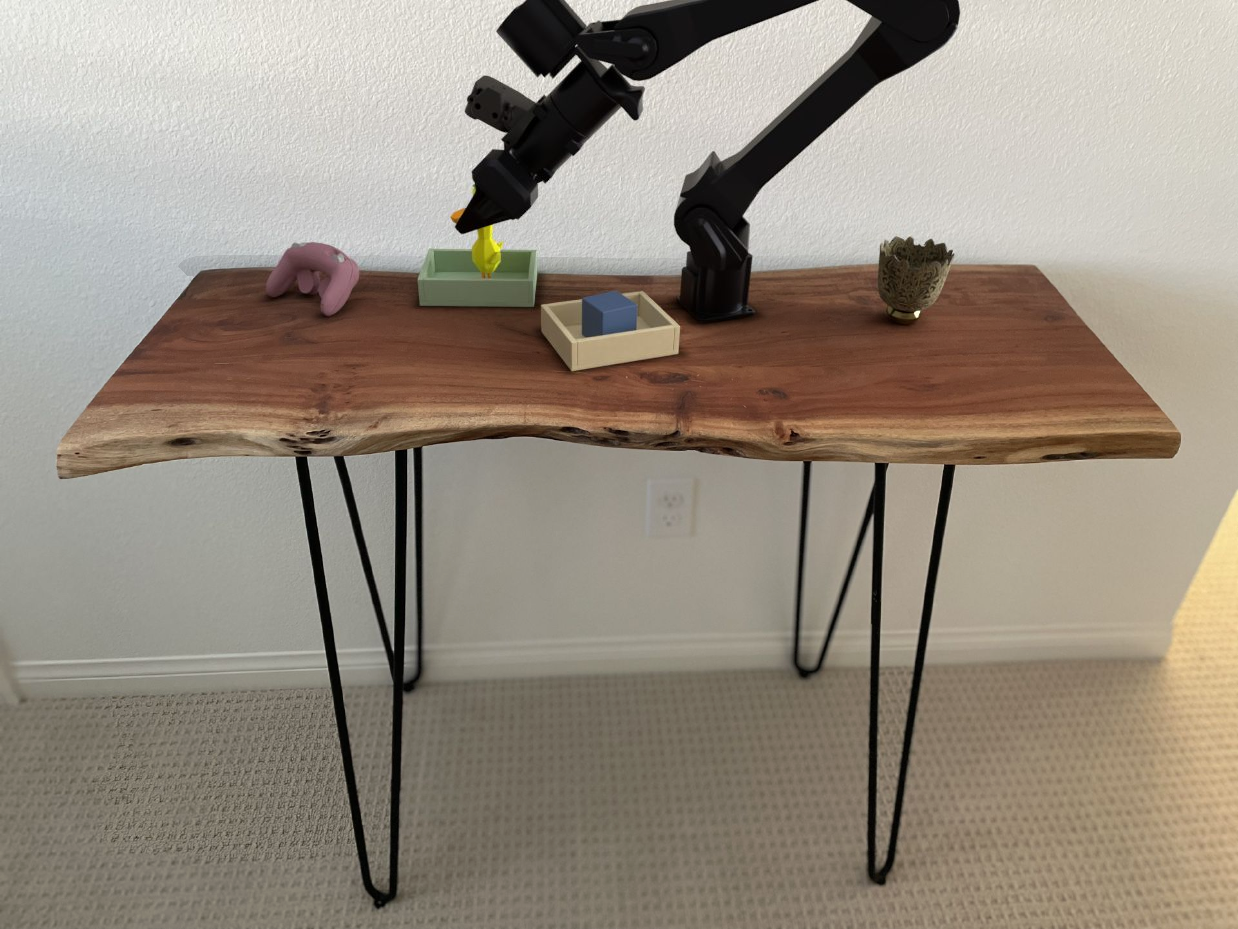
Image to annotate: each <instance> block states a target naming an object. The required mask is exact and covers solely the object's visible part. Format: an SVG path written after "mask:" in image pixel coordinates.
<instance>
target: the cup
mask: <svg viewBox="0 0 1238 929" xmlns="http://www.w3.org/2000/svg"><path fill="white" fill-rule="evenodd" d="M953 251H954V250H953V249H949V250H948V247H947V245H946V243H945V242H940V243H935V241H934V240H933V239H932V238H929V239H928V240H926V241H925V242H924V244H923V245H921V244H920V243H918V244H915V238H914V237H912V236H908V237H907V238H906V239H904V238H903V237H900V236H897V235H895V236H894V237H893V238H892V239H891V240H890V241H889V240H887V239H884V241H883V243H882V242H880V244H879V256H878V268H877V289H878V295H879V296H880V298H881V300H882V301H883V303H885V305H886V306H887V307H886V308H885V315H886V317H887V318H888V319H889V320H890V321H891V322H894V323H896V324H899V325H900V324H901V325H912V324H915V323H917V322H918V321H919V320H920V318H921V317H922V311H924V310H926V309H929V307H931V306H932V305H934V303H935V302H936V301H937V300H938V298H939V296H940V294H941V292H942V290H943V288H944V285H945V282H946V280H947V277H948V274H949V272H950V268H951V267H952V266H951V265H952V263H953V261H954V258H955V253H953Z"/></svg>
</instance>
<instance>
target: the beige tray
mask: <svg viewBox="0 0 1238 929" xmlns="http://www.w3.org/2000/svg"><path fill="white" fill-rule="evenodd" d="M621 294H622V295H624V296H625V297H627V298H628V299H630V300H631V301H633V302H634V303H636V304H637V327H636V330H635V331H628V332H621V333H615V334H608V335H602V336H595V337H588V338H586V337H584V336H583V335H582V298H581V299H574V300H567V301H566V300H565V301H559V302H552V303H544V304H541V305H540V323H541V324H540V326H541V328H540V329H541V331H540V332H541V333H542V335H543V336H544V337H545V338H546V339H547V341H548V342H549V344H550V345H551V347H553V349H554V350H555V351H556V353H557V354H558V355H559V357H560V358H561V359H562V360H563V362H564V363H565V365H566V366H567V368H568V369H569V370H570V371H571V372H576V371H581V370H588V369H594V368H601V367H606V366H607V367H608V366H613V365H617V364H624V363H630V362H631V363H632V362H636V361H643V360H649V359H655V358H656V359H657V358H661V357H669V356H673V355H678V354H679V348H680V347H679V346H680V334H681V333H680V332H681V326H680V325H679V324H678V323H677V322H676V321H675V320H674V319H673V318H672V317H671V316H670V315H669V314H668V313H667V312H666V311H665V310H663V309H662V308H661V306H660V305H658V303H656V302H655V301H654V300H653V299H652V298H651V297H650V296H649V295H648V294H647V293H646V292H645V291H643V290H640V291H632V292H625V293H621Z"/></svg>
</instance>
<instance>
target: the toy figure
mask: <svg viewBox="0 0 1238 929" xmlns="http://www.w3.org/2000/svg"><path fill="white" fill-rule="evenodd" d="M475 190H476V189H475V183H473V184H472V196H473V195H474V193H475ZM465 208H466V207H463V208H461V209H458V210H455V211H454V212H453V213H452V214H451V215H450V220H451V221H452V223H454V224H456V223H457V222H458V220H459V218H460V217H461V215H462V213H463V212H464V210H465ZM493 230H494V224H493V225H490V226H487V227H484V228H481V229H478V230H476V232H477V239H476V240H475V241H474V243H473V245H472V246H471V249H472V255H471V256H472V259H473V262H474V263H475V265H476V266H477V268H478V269H479V270H480V272H481V273H482V278H486V277H485V273H487V275H488V278H491V273H492V272H494V271H495V269H496V268H497V266H498V264H499V263H500V259H501V252H500V250H502V248H503V245H504V243H505V241H504V240H503V241H500V242H496V241H495V239H494V238H493Z"/></svg>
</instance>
